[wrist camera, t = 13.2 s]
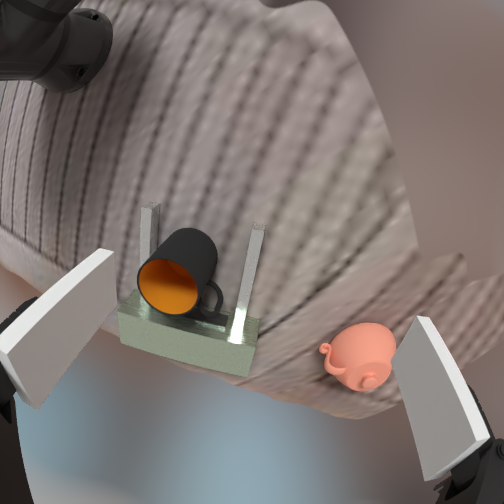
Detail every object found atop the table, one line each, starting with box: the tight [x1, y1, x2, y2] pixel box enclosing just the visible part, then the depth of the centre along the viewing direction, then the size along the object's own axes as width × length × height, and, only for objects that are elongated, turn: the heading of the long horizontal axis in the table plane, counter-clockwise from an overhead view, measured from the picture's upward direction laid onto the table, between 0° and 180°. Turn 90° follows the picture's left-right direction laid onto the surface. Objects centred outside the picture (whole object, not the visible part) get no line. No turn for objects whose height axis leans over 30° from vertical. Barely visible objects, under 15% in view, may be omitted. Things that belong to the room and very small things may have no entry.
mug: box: [137, 228, 223, 318], centre depth 39 cm, size 8×12×10 cm
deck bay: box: [117, 202, 265, 377], centre depth 42 cm, size 23×22×7 cm
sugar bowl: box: [319, 323, 396, 391], centre depth 42 cm, size 12×14×10 cm
